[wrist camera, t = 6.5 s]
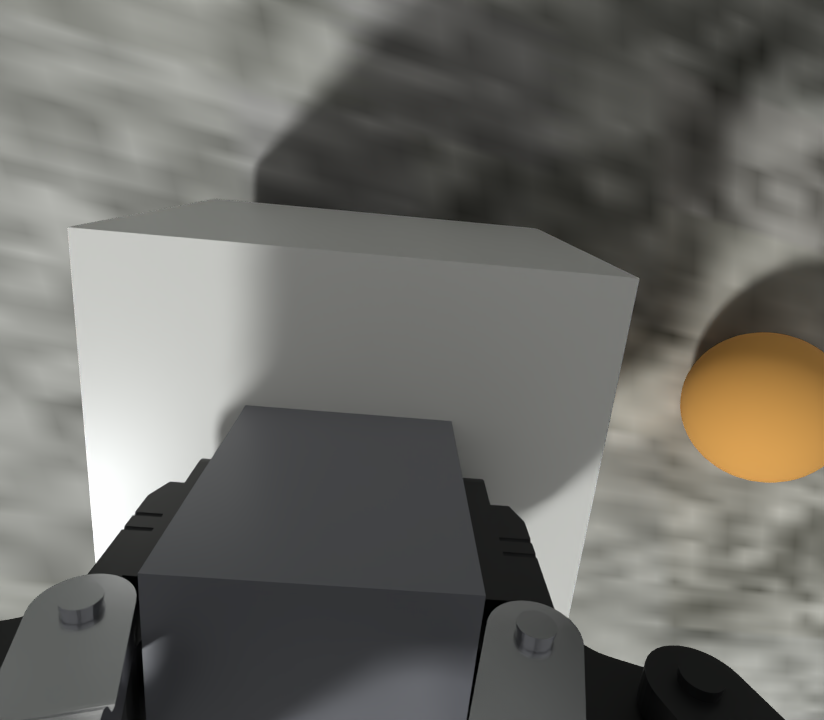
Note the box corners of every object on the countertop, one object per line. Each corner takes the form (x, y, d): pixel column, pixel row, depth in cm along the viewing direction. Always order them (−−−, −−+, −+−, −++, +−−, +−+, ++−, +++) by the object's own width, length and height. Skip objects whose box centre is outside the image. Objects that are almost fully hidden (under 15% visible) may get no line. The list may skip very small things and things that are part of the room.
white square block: (215, 198, 19) (-210, 280, 6) (536, 228, 19) (822, 366, 6) (218, 485, 22) (-53, 962, 9) (494, 505, 22) (624, 985, 9)
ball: (672, 311, 22) (749, 352, 17) (807, 321, 22) (919, 365, 17) (645, 437, 23) (707, 507, 19) (770, 445, 23) (864, 517, 19)
